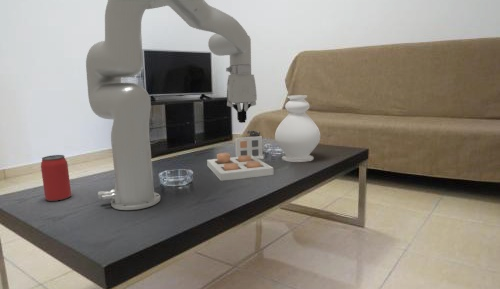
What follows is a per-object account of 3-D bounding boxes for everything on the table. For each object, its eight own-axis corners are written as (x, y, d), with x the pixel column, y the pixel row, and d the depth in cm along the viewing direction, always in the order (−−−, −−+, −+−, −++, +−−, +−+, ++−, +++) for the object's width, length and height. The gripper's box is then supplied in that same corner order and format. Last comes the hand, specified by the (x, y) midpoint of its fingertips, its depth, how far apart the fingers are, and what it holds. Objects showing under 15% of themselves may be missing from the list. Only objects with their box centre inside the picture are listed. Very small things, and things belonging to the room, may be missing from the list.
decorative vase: (299, 166, 130) (299, 97, 125) (266, 159, 143) (264, 96, 139) (329, 158, 141) (330, 94, 137) (295, 152, 155) (295, 94, 150)
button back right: (240, 166, 129) (240, 158, 129) (236, 163, 134) (236, 156, 133) (253, 165, 131) (252, 157, 130) (249, 162, 135) (248, 154, 135)
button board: (221, 181, 114) (220, 173, 113) (207, 166, 134) (207, 159, 134) (273, 174, 119) (273, 167, 119) (252, 161, 140) (252, 155, 139)
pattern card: (237, 161, 140) (236, 139, 138) (234, 159, 144) (234, 137, 142) (263, 159, 143) (263, 137, 142) (260, 157, 147) (260, 135, 145)
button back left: (218, 164, 127) (218, 155, 126) (215, 161, 131) (215, 153, 131) (231, 162, 128) (231, 154, 128) (228, 160, 133) (228, 152, 132)
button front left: (226, 175, 118) (225, 166, 117) (222, 172, 122) (222, 163, 122) (240, 174, 119) (239, 165, 119) (236, 170, 124) (235, 162, 123)
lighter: (264, 153, 155) (264, 130, 153) (260, 154, 152) (259, 131, 150) (248, 151, 159) (248, 129, 157) (244, 153, 156) (244, 130, 154)
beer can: (53, 203, 97) (47, 160, 95) (40, 199, 100) (34, 158, 98) (76, 196, 102) (71, 155, 100) (63, 193, 106) (58, 153, 104)
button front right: (249, 173, 120) (248, 164, 120) (244, 170, 125) (244, 161, 124) (262, 172, 121) (262, 163, 121) (257, 168, 126) (257, 160, 125)
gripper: (222, 70, 120) (224, 124, 124) (264, 70, 125) (264, 122, 128) (217, 71, 127) (219, 122, 131) (257, 71, 132) (258, 120, 135)
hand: (242, 122), depth 129 cm, fingers closed
